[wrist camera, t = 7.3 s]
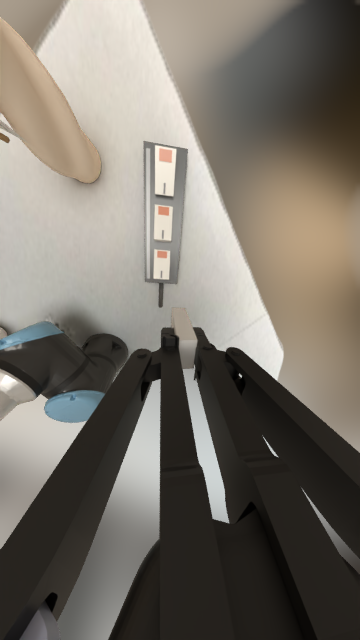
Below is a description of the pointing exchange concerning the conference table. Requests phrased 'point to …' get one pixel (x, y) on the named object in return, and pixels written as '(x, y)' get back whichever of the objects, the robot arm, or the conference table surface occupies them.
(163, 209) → the rocker
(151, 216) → the power strip
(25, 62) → the water bottle
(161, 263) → the rocker
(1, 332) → the vase
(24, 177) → the conference table surface
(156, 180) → the rocker
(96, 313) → the conference table surface
